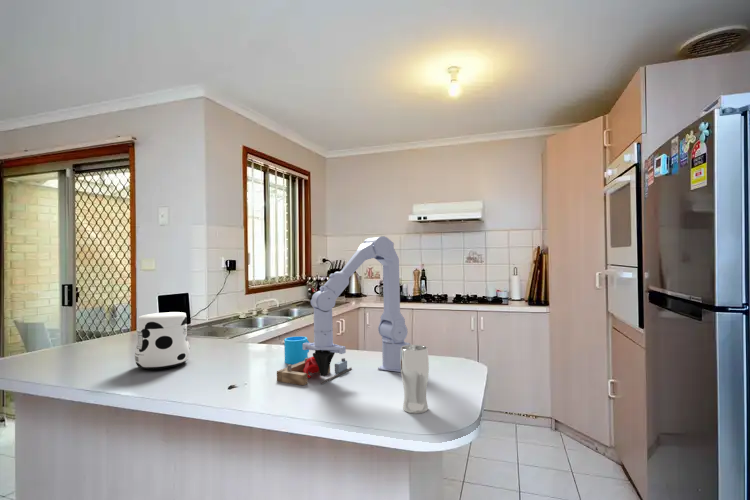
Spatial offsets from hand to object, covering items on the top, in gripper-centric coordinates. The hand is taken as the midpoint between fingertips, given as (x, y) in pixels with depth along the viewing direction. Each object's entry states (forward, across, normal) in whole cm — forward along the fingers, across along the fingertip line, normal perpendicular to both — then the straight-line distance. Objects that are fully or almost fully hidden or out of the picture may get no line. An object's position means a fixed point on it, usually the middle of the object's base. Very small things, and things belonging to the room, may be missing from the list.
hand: (324, 375), depth 124 cm
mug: (+2, -22, +16) cm, 27 cm away
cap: (+1, -4, +1) cm, 4 cm away
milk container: (+2, -62, -10) cm, 63 cm away
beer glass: (+2, +34, -10) cm, 35 cm away
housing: (+1, -5, +3) cm, 6 cm away
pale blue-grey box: (+1, 0, +9) cm, 9 cm away
